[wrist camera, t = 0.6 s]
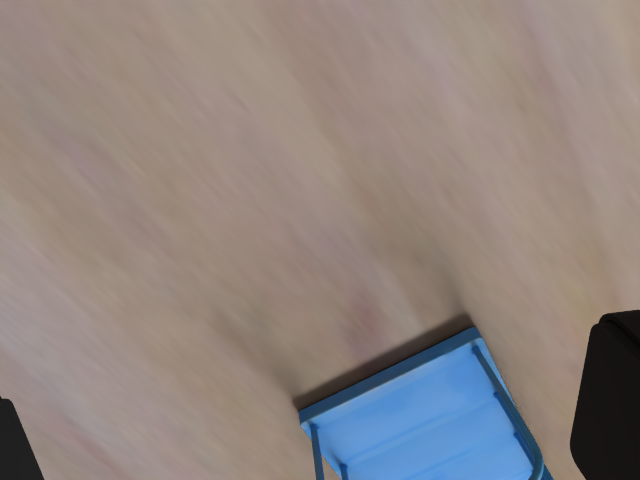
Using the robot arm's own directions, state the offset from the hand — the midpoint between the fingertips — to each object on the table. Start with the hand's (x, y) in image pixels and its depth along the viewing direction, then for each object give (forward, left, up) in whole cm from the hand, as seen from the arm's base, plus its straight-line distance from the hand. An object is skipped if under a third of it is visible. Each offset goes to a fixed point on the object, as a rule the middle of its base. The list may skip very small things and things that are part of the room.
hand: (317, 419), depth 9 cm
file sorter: (+17, +34, -31) cm, 49 cm away
